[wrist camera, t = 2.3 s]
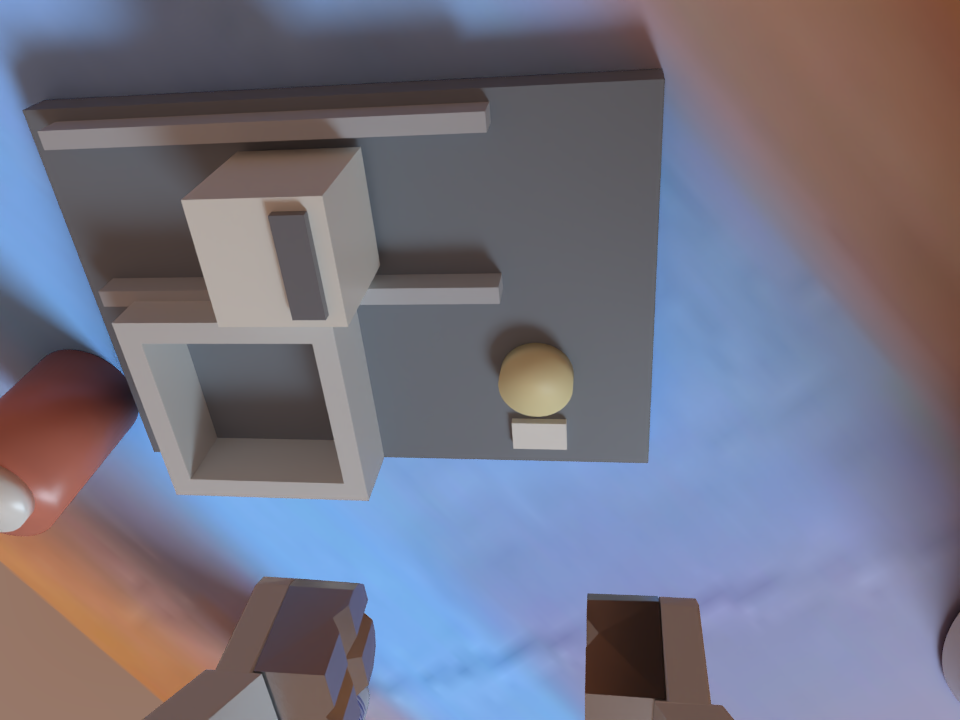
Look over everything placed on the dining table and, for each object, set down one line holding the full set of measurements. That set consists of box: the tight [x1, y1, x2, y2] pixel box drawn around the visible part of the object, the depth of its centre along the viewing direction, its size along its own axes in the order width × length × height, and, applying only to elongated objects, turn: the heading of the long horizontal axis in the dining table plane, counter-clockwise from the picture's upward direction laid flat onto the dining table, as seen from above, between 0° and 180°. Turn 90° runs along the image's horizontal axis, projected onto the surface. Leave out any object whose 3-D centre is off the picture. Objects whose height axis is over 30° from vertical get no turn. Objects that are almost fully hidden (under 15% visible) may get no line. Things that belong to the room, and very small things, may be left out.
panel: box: [23, 69, 665, 501], centre depth 27 cm, size 20×14×4 cm
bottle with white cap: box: [0, 350, 138, 536], centre depth 31 cm, size 4×4×7 cm
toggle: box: [181, 147, 380, 327], centre depth 24 cm, size 4×4×4 cm
